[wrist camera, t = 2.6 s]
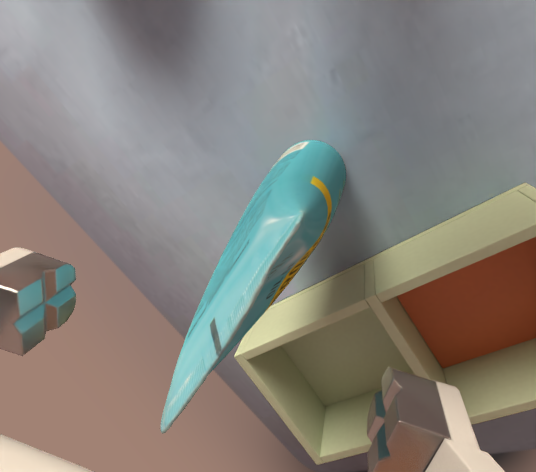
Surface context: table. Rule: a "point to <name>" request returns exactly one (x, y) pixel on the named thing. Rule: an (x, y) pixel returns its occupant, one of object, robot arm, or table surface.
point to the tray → (407, 328)
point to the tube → (259, 261)
